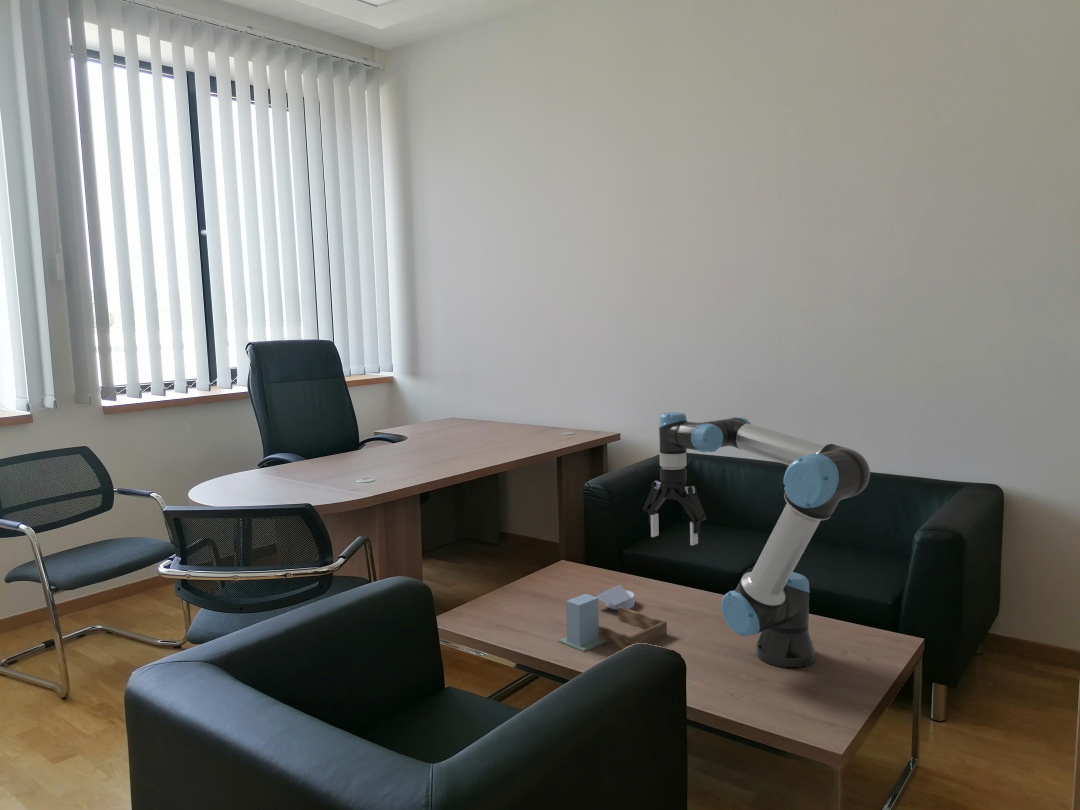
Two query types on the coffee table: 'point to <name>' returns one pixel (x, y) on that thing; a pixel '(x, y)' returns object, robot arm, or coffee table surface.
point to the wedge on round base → (617, 598)
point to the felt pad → (583, 647)
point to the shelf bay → (650, 624)
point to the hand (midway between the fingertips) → (674, 540)
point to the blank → (582, 619)
